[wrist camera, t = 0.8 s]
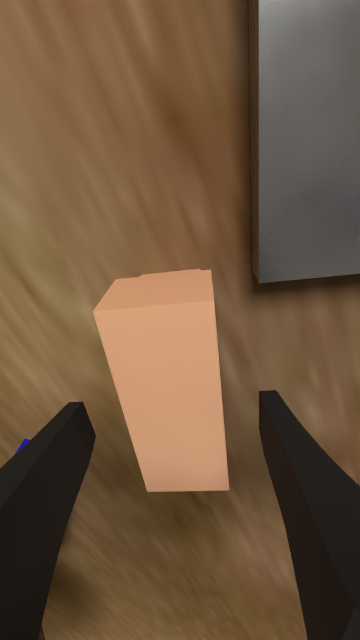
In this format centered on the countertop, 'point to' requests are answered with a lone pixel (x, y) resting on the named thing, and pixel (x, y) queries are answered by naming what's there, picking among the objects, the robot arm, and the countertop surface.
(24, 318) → the countertop surface
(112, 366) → the tall peach brick
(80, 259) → the countertop surface
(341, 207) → the rail plate
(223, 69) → the countertop surface
